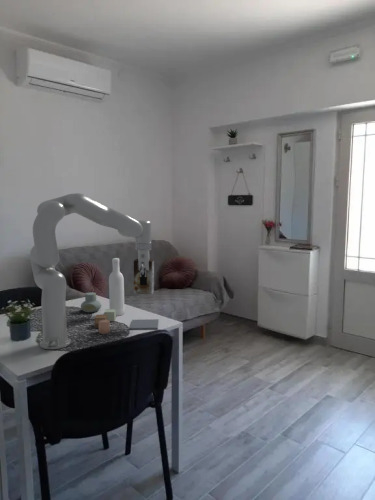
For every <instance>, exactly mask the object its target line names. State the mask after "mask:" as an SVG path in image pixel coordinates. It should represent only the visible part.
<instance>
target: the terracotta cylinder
mask: <svg viewBox="0 0 375 500" xmlns="http://www.w3.org/2000/svg"><path fill="white" fill-rule="evenodd" d="M110 323H111V322H110V321H109V320H101V321H99V328H98V333H99V334H103V335H106V334H109V333H110V332H111V328H110V327H111V325H110Z"/></svg>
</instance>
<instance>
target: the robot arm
mask: <svg viewBox="0 0 375 500" xmlns="http://www.w3.org/2000/svg"><path fill="white" fill-rule="evenodd" d="M36 210H37V212H36V213H37V214H36V217H35V219H34V220H33V224H32V236H33V237H32V238H33V245H34V246H33V247H32V248H31V249H30V253H29V261H30V264H31V265H30V266H31V270H32V276H33V280H34V283H35V284H36V286H37V287H38V288H40V289H41V300H40V301H41V302H40V303H41V306H40V307H41V321H42V340H41V341H40V342H39V347H40V348H41V349H43V350H58V349H59V350H60V349H63V348H66V347H68V346H70V345H71V343H72V339H71V338H70V337H68V330H67V328H68V327H67V326H68V325H67V306H66V305H67V304H66V303H67V301H66V292H67V280H66V277H65V275H64V274H63V273H61V272H60V271H58V270H57V269H56V266H57V265H58V264H59V261H60V253H59V248H58V243H57V237H56V235H57V234H56V228H57V225H58V223H59V222H60V221H61V220H62V219H64V217H65V216H66V217H67V216H69V215H71V214H76V215H79V216H81V217H83V218H86V219H87V220H89V221H92V222H93V223H96V224H98V225H100V226H103V227H108V228H111V229H114V230H117V232H118V234H119V235H121V236H123V237H126V238H135V243H134V244H135V251H137V259H138V265H139V271H140V285H147V277H146V270H148V271H149V260H150V257H151V256H150V251H152V222H151V221H150V220H136V219H135V218H133V217H130V216H129V215H127V214H124V213H122V212H120V211H118V210H115V209H113V208H110V207H108V206H107V205H105V204H102V203H100V202H99V201H96V200H94V199H93V198H91V197H89V196H88V195H85V194H83V193H78V192H76V193H70V194H66V195H62V196H59V197H55V198H52V199H49V200H44V201H41V202H40V203H39V205H38V206H37V209H36ZM144 263H145V266H144ZM144 269H145V270H144Z"/></svg>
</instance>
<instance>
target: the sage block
mask: <svg viewBox="0 0 375 500" xmlns="http://www.w3.org/2000/svg"><path fill="white" fill-rule="evenodd" d="M106 314H107V320H109V321H115V322H116V319H117V316H116V309H110V308H108V309H105V310H104V314H103V315H106Z"/></svg>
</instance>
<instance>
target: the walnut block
mask: <svg viewBox="0 0 375 500" xmlns="http://www.w3.org/2000/svg"><path fill="white" fill-rule="evenodd" d="M101 320H107V314H106V315H104V314H96V315H95V317H94V328H95V329H97V328H98V329H99V321H101Z"/></svg>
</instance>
